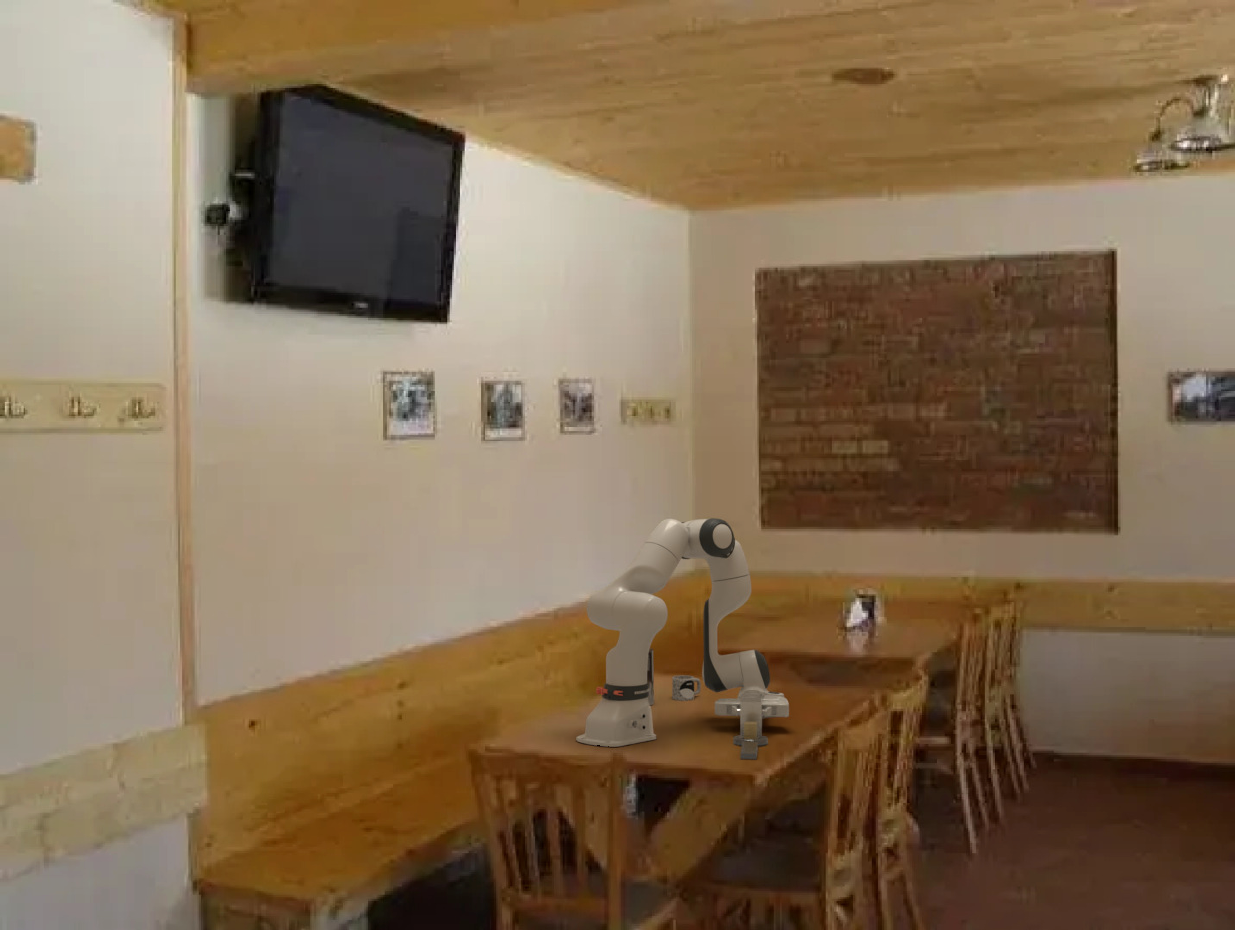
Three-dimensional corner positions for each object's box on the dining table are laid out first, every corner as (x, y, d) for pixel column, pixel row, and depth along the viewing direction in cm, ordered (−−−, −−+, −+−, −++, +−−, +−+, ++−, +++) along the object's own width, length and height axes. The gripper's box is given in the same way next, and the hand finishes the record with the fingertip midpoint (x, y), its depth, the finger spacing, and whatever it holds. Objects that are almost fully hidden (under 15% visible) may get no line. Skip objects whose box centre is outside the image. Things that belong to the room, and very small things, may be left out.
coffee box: (654, 701, 459) (654, 648, 458) (652, 705, 452) (652, 651, 452) (624, 701, 460) (624, 648, 459) (622, 705, 453) (622, 651, 453)
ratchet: (734, 739, 404) (734, 719, 404) (768, 740, 403) (768, 719, 403) (730, 759, 381) (730, 737, 381) (766, 759, 380) (766, 738, 380)
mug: (681, 701, 459) (681, 679, 459) (668, 698, 464) (668, 676, 464) (707, 698, 465) (707, 676, 465) (693, 694, 470) (693, 673, 470)
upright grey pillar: (761, 735, 406) (761, 697, 405) (740, 735, 406) (740, 697, 406) (761, 731, 411) (761, 694, 411) (741, 731, 412) (741, 693, 412)
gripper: (715, 691, 423) (712, 700, 409) (789, 693, 420) (788, 702, 407) (714, 714, 423) (712, 723, 409) (789, 716, 420) (788, 725, 407)
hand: (751, 713), depth 408 cm, fingers closed on upright grey pillar, 6 cm apart
